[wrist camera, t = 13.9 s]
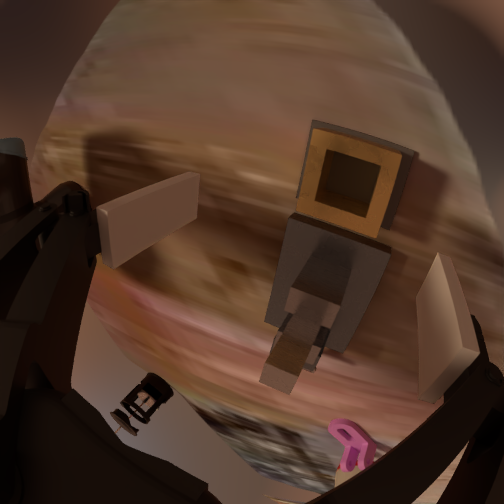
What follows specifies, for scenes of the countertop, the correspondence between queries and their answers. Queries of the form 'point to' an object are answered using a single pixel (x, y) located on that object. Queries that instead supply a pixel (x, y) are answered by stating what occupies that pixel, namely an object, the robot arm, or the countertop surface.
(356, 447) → the bracket
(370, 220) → the orange-brown square frame
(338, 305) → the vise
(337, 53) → the countertop surface
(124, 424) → the french press
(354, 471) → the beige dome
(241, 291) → the countertop surface
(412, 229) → the countertop surface
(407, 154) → the rubber mat
